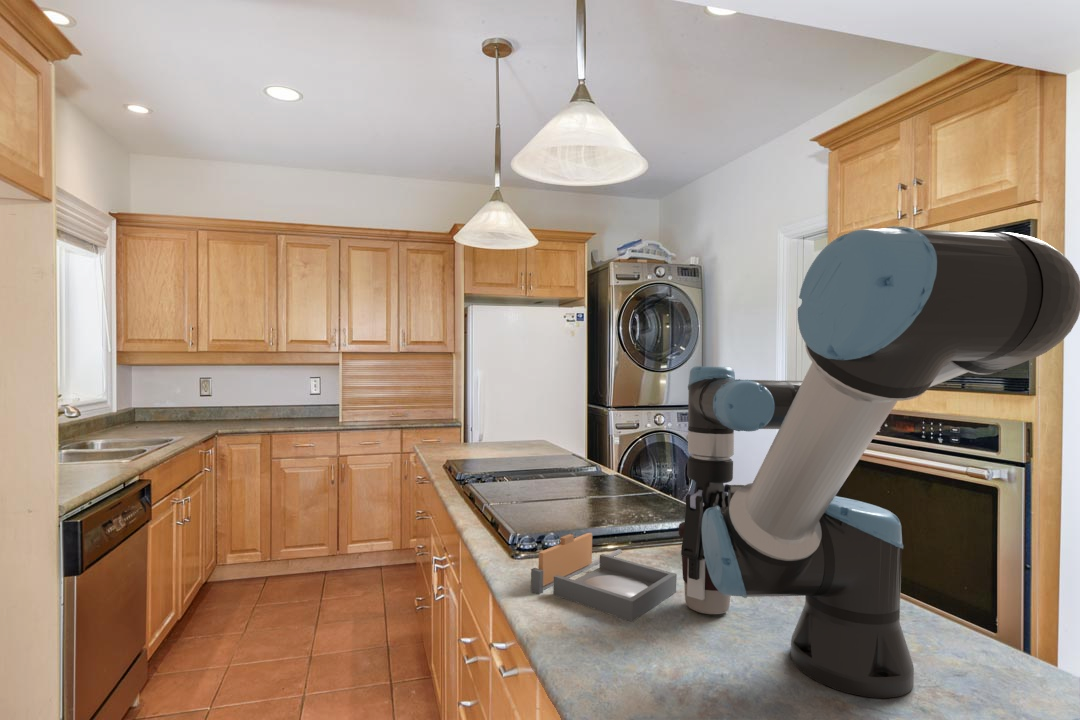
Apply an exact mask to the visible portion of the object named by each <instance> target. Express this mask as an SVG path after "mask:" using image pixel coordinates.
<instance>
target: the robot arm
mask: <svg viewBox="0 0 1080 720" xmlns="http://www.w3.org/2000/svg"><path fill="white" fill-rule="evenodd" d="M798 298H799V299H800V300H801V304H800V305H799V306H798V308H797V324H798V329H799V333H800V335H801V337H802V339H803V341H804V345H805V346H804V347H805V350H806V354H807V355H808V358H809V360H810V361H811V364H810V365H809V368H808V370H807V372H806V374H805V376H804V378H803V380H768V379H767V380H766V379H761V380H760V379H741V378H738V379H736V376H735V370H734V369H733V368H732V367H730V366H704V365H703V366H700V365H699V366H692V368H691V369H690V371H689V378H688V385H687V390H688V405H687V406H688V407H687V408H688V410H687V411H688V412H687V413H688V414H687V415H688V416H687V418H688V420H687V425H688V427H687V433H688V434H686V436H685V439H686V440H687V453H688V455H690V456H688V457H687V458H686V459H687V461H686V462H687V463H686V464H687V465H686V466H687V467H686V476H687V477H688V479H690V480H691V481H694V483H695V486H694V490H693V491H694V492H693V494H689V493H687V494H686V495H685V516H684V522H685V523H684V532H683V541H682V543H681V546H682V549H681V551H680V555H681V557H682V556H684V557H688V573H687V596H689V597H693V598H696V599H700V600H704V599H705V561H706V565H707V569H708V572H709V575H710V578H711V580H712V582H713V584H714V586H715V587H716V588H717V590H718V591H719V592H720V593H722V594H724V595H727V596H730V597H742V598H744V599H747V598H748V597H749V598H751V597H752V598H754V597H756V598H758V597H759V598H760V597H761V598H762V597H801V596H802V597H805V601H804V606H803V608H802V610H801V612H800V616H799V618H798V620H797V622H796V626H795V628H794V631H793V633H792V635H791V639H790V658H791V661H792V662H793V664H794V665H795V666H796V667H797V668H798V670H800V671H801V672H803V673H804V674H805V675H807V676H808V678H811V679H812V680H815V681H816V682H817V683H820V684H823V685H824V686H827V687H829V688H832V689H835V690H837V691H841V692H845V693H848V694H852V695H854V696H855V695H856V696H862V697H867V698H879V699H888V698H897V697H900V696H905V695H907V694H908V693H910V692H911V691H912V689H913V688H914V681H915V680H914V678H915V677H914V675H915V667H914V664H913V663H914V662H913V660H912V656H911V654H910V651H909V648H908V644H907V640H906V637H905V636H904V632H903V631H904V630H903V629H902V625H901V622H900V621H901V618H900V616H901V587H902V586H901V584H902V577H901V576H902V555H903V553H902V552H903V551H902V550H903V549H904V544H903V535H902V524H901V521H900V519H899V518H898V516H897V515H896V514H894V513H893V512H891V511H890V510H888V509H886V508H883V507H880V506H878V505H875V504H871V503H868V502H864V501H860V500H857V499H852V498H847V497H842V496H837V494H838V493H839V491H840V489H841V488H842V486H843V485H844V483H845V482H846V480H847V478H848V477H849V476H850V475H851V472H852V471H853V470H854V468H855V467H856V465H857V464H858V462H859V461H860V459H861V458H862V457H863V455H864V452H866V450H867V449H868V447H869V445H870V444H871V442H872V440H874V438H875V436H876V435H877V433H878V432H879V430H880V429H881V427H882V425H883V424H884V423H885V421H886V419H887V418H888V416H889V415H890V413H891V412H892V410H893V409H894V408H895V406H896V404H897V403H898V402H900V401H902V402H903V401H904V402H905V401H909V400H913V399H916V398H918V397H920V396H922V395H923V394H924V393H926V392H927V390H928V389H929V388H931V387H933V386H937V385H939V384H941V383H945V382H947V381H949V380H952V379H954V378H957V377H959V376H962V375H964V374H967V373H970V374H975V375H992V374H995V373H999V372H1001V371H1004V370H1006V369H1009V368H1012V367H1014V366H1017V365H1021V364H1023V363H1025V362H1028V361H1030V360H1033V359H1035V358H1038V357H1040V356H1041V355H1044V354H1047V352H1049V351H1051V350H1052V349H1053V348H1054V347H1056V346H1058V345H1059V344H1060V343H1061V342H1062V341H1064V339H1065V338H1066V337H1067V336H1068V335H1069V334H1070V333H1071V332H1072V330H1073V328H1074V327H1075V325H1076V323H1077V321H1078V319H1079V318H1080V317H1079V316H1080V277H1079V274H1078V273H1077V271H1076V269H1075V268H1074V265H1073V264H1072V263H1071V261H1070V260H1069V259H1068V258H1067V257H1066V256H1065V255H1064V254H1063V253H1062V252H1061V251H1060V250H1058V249H1056V248H1055V247H1054V246H1052V245H1050V244H1048V243H1047V242H1045V241H1044V240H1040V239H1038V238H1035V237H1033V236H1029V235H1025V234H1019V233H1014V232H1002V231H1001V232H1000V231H997V232H995V231H994V232H993V231H992V232H982V231H980V232H979V231H978V232H975V231H953V230H952V231H951V230H949V231H948V230H932V229H931V230H929V229H915V228H913V227H907V226H888V227H883V228H882V227H881V228H861V229H856V230H853V231H850V232H848V233H845V234H842V235H840V236H838V237H836V238H835V239H834V240H832V241H831V242H829V243H828V244H827V245H826V246H825V247H823V248H822V250H821V251H820V252H819V253H818V254H817V256H816V257H815V259H814V260H813V262H812V263H811V265H810V267H809V268H808V270H807V272H806V274H805V277H804V279H803V282H802V284H801V288H800V292H799V296H798ZM759 430H778V431H777V432H776V435H775V437H774V439H773V441H772V443H771V445H770V448H769V449H768V450H767V451H768V452H767V453H766V454H765V455H766V456H765V457H764V459H763V462H762V463H761V465H760V467H759V469H758V472H757V474H756V475H755V478H754V480H753V481H752V482H751V483H747V484H744V486H743V487H741V488H739V489H738V490H737V491H736V492H735V493H734V495H733V496H732V498H731V500H730V495H731V485H732V484H727V483H730V482H732V481H733V479H734V461H733V459H732V458H731V457H733V456H734V454H735V453H734V452H735V451H734V450H735V449H734V447H735V446H734V445H735V443H734V442H735V441H734V440H735V432H736V431H737V432H756V431H759ZM700 535H702V536H701V537H700ZM703 553H704V557H705V559H703Z"/></svg>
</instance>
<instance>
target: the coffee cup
mask: <svg viewBox="0 0 1080 720" xmlns="http://www.w3.org/2000/svg"><path fill="white" fill-rule="evenodd" d="M684 523H685V521H682V522H680V523H679V525H678V535H679V537H681V538H682V541H683V532H684ZM701 536H702V535H700V537H701ZM680 548H681V549H682V545H681V547H680ZM703 559H705V557H704V553H703ZM681 566H682V567H681V568H682V569H681V570H682V579H683V582H684V601H685V604H686V606H687V607H688V608H689V609H691V610H693V611H694V612H695V611H696V612H697V613H700V614H706V615H707V614H708V615H721V614H724V613H726V612H728V611H729V610H730V605H731V596H727V595H724V594H722V593H720V592H719V591H718V590H717V588H716V587H715V586H714V584H713V582H712V580H711V578H710V575H709V572H708V569H707V565H706V561H705V599H704V600H700V599H696V598H693V597H689V596H687V573H688V557H684V556H682V555H681Z"/></svg>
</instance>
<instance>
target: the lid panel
mask: <svg viewBox="0 0 1080 720" xmlns="http://www.w3.org/2000/svg"><path fill="white" fill-rule="evenodd" d="M592 562H593V533H591V532H587V533H584V534H581V535H579V536H576V537H574V534H571V533H569V534H566V535H564V536H561V537H560V543H559V544H556V545H554V546H551V547H548V548H547V549H544V550H541V551H539V552H538V569H541V570H543V586H545V585H547V584H549V583H551V582H553V581H554V576H555V575H560V576H563V577H564V576H566V575H568V574H570V573H572V572H574V571H576V570H578V569H581V568H583V567H585V566H587V565H589V564H591V563H592Z"/></svg>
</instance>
